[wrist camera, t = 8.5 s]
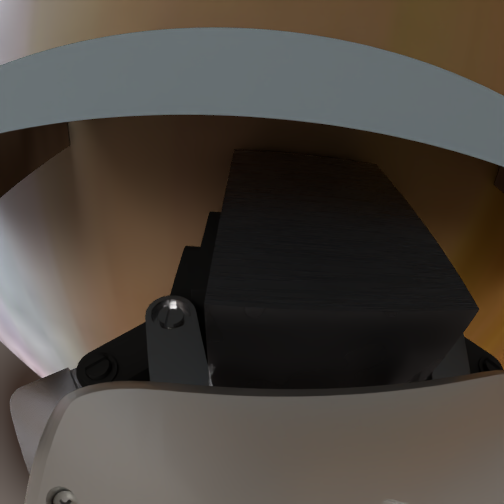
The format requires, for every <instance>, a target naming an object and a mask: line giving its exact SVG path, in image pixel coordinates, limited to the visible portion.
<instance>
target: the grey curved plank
mask: <svg viewBox="0 0 504 504" xmlns="http://www.w3.org/2000/svg"><path fill="white" fill-rule="evenodd" d="M142 115H228V116H247V117H262V118H274V119H285V120H295V121H304V122H312V123H320V124H327V125H334V126H341V127H347V128H353V129H359V130H365V131H370V132H375V133H381V134H386V135H391V136H395V137H400V138H404V139H409V140H413V141H417V142H422V143H426V144H430V145H434V146H437V147H441V148H445V149H449V150H452V151H456V152H459V153H462V154H466V155H469V156H472V157H476V158H479V159H482V160H485V161H488V162H491V163H494V164H497V165H500V166H503V167H504V96H503V95H501V94H499V93H497V92H495V91H493V90H491V89H489V88H487V87H484V86H482V85H480V84H478V83H476V82H474V81H471V80H469V79H467V78H464V77H462V76H460V75H457V74H455V73H452V72H450V71H447V70H445V69H442V68H439V67H437V66H434V65H431V64H428V63H425V62H422V61H419V60H416V59H413V58H410V57H407V56H404V55H400V54H397V53H394V52H390V51H386V50H383V49H379V48H375V47H371V46H367V45H363V44H358V43H354V42H349V41H344V40H339V39H334V38H328V37H323V36H316V35H310V34H303V33H295V32H286V31H277V30H265V29H250V28H178V29H163V30H152V31H142V32H134V33H127V34H120V35H113V36H107V37H101V38H96V39H91V40H86V41H81V42H77V43H72V44H68V45H64V46H60V47H56V48H53V49H49V50H45V51H42V52H39V53H35V54H32V55H29V56H26V57H23V58H20V59H17V60H14V61H11V62H8V63H6V64H3V65H0V133H3V132H8V131H13V130H18V129H24V128H29V127H35V126H41V125H48V124H55V123H62V122H70V121H78V120H87V119H98V118H109V117H123V116H142Z"/></svg>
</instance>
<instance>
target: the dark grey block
mask: <svg viewBox="0 0 504 504" xmlns="http://www.w3.org/2000/svg"><path fill="white" fill-rule="evenodd" d="M478 310H479V308H478V306H477V305H476V303H475V301H474V299H473V298H472V296H471V294H470V293H469V291H468V289H467V288H466V286H465V284H464V283H463V281H462V280H461V278H460V276H459V275H458V273H457V272H456V270H455V268H454V267H453V265H452V264H451V262H450V261H449V259H448V258H447V256H446V255H445V253H444V252H443V250H442V249H441V247H440V246H439V244H438V243H437V242H436V240H435V239H434V237H433V236H432V235H431V233H430V232H429V230H428V229H427V228H426V226H425V225H424V223H423V222H422V221H421V219H420V218H419V217H418V215H417V214H416V213H415V211H414V210H413V209H412V208H411V206H410V205H409V204H408V202H407V201H406V200H405V199H404V197H403V196H402V195H401V194H400V192H399V191H398V190H397V189H396V187H395V186H394V185H393V184H392V183H391V181H390V180H389V179H388V178H387V177H386V175H385V174H384V173H383V172H382V171H381V169H380V168H379V167H378V166H377V165H376V164H371V163H365V162H358V161H351V160H344V159H336V158H329V157H320V156H312V155H303V154H293V153H282V152H270V151H257V150H242V149H234V153H233V158H232V162H231V167H230V172H229V176H228V181H227V186H226V191H225V196H224V201H223V206H222V211H221V216H220V221H219V226H218V231H217V236H216V241H215V247H214V252H213V257H212V263H211V268H210V274H209V279H208V285H207V290H206V296H205V302H204V312H205V329H206V344H207V357H208V370H209V376H210V377H211V381H212V385H213V386H216V387H234V388H255V389H331V388H353V387H368V386H381V385H392V384H402V383H411V382H420V381H425V380H426V378H427V377H428V376H429V375H430V374H431V372H433V371H434V370H435V369H436V368H437V366H438V365H439V364H440V363H441V361H442V360H443V359H444V358H445V356H446V355H447V354H448V352H449V351H450V350H451V349H452V347H453V346H454V345H455V343H456V342H457V341H458V339H459V338H460V336H461V335H462V334H463V332H464V331H465V330H466V328H467V327H468V325H469V324H470V322H471V321H472V319H473V318H474V316H475V315H476V313H477V312H478Z"/></svg>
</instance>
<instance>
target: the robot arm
mask: <svg viewBox="0 0 504 504" xmlns="http://www.w3.org/2000/svg"><path fill="white" fill-rule="evenodd" d="M220 216H221V212H209V216H208V220H207V224H206V228H205V232H204V236H203V240H202V244H201V247H195V246H185V248H184V251H183V254H182V257H181V260H180V264H179V267H178V270H177V274H176V277H175V280H174V284H173V287H172V291H171V294H170V296H164V297H161V298H159V299H157V300H155V301H153V302H152V303H151V304H150V305H149V307H148V308H147V310H146V315H145V320H146V322H145V323H143V324H141V325H139V326H137V327H135V328H134V329H132V330H130V331H128V332H126V333H124V334H123V335H121V336H119V337H117V338H115V339H113V340H111V341H110V342H108V343H106V344H104V345H102V346H100V347H99V348H97V349H95V350H93V351H91V352H89V353H88V354H86V355H85V356H84V357H83V358H82V359H81V360H80V362H79V363H78V366H77V368H75V369H73V370H70V369H69V368H66V369H63V370H61V371H59V372H56V373H54V374H52V375H49V376H47V377H44V378H42V379H40V380H37V381H35V382H32V383H30V384H27V385H25V386H22V387H20V388H19V389H17V390H16V391H15V392H14V394H13V395H12V397H11V400H10V410H11V415H12V419H13V423H14V427H15V430H16V434H17V437H18V441H19V444H20V447H21V451H22V454H23V457H24V459H25V463H26V466H27V468H28V471H29V474H30V477H29V482H28V487H27V493H26V498H25V504H504V370H503V368H502V366H501V364H500V363H499V361H498V360H497V359H496V358H495V357H494V356H492V355H491V354H489V353H488V352H486V351H485V350H483V349H482V348H480V347H479V346H477V345H476V344H474V343H473V342H471V341H470V340H468V339H467V338H465V337H464V334H462V335H461V336H460V338H459V339H458V341H457V342H456V343H455V345H454V346H453V347H452V349H451V350H450V351H449V352H448V354H447V355H446V356H445V358H444V359H443V360H442V361H441V363H440V364H439V365H438V366H437V368H436V369H435V370H434V371H433V372H431V374H430V375H429V376H428V377H427V378H426V380H425V381H420V382H411V383H402V384H392V385H381V386H368V387H353V388H331V389H255V388H234V387H216V386H213V385H212V381H211V377H210V376H209V370H208V357H207V344H206V329H205V312H204V302H205V296H206V290H207V285H208V279H209V274H210V268H211V263H212V257H213V252H214V247H215V241H216V236H217V231H218V226H219V221H220Z"/></svg>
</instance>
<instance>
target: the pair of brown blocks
mask: <svg viewBox="0 0 504 504" xmlns="http://www.w3.org/2000/svg"><path fill="white" fill-rule="evenodd" d="M68 146H70V142H69V134H68V125H67V122H62V123H55V124H48V125H41V126H35V127H29V128H24V129H18V130H13V131H8V132H3V133H0V197H2V196H3V195H4V194H5V193H6V192H8V191H9V190H10V189H11V188H12V187H14V186H15V185H16V184H17V183H19V182H20V181H21V180H22V179H24V178H25V177H26V176H28V175H29V174H30V173H32V172H33V171H34V170H36V169H37V168H38V167H40V166H41V165H42V164H44V163H45V162H47V161H48V160H49V159H51V158H52V157H54V156H55V155H56V154H58V153H59V152H61V151H62V150H64V149H65V148H67V147H68ZM494 185H495V186H496V187H497V188H498V189H499V190H501V191H502V192H503V193H504V167H503V166H500V168H499V171H498V175H497V178H496V181H495V184H494Z"/></svg>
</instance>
